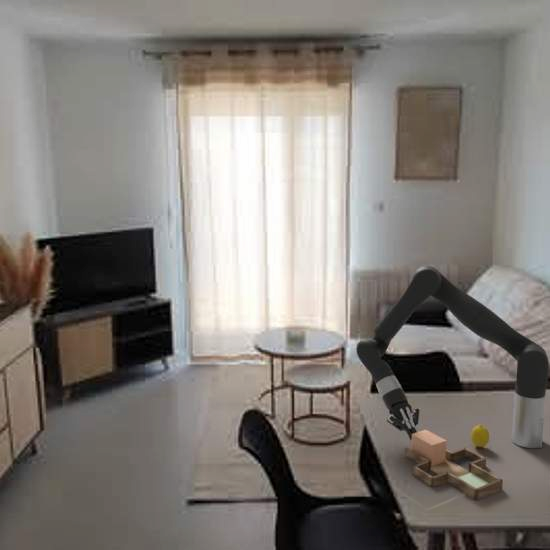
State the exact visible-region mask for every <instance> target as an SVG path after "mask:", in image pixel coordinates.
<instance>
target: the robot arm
mask: <svg viewBox="0 0 550 550" xmlns="http://www.w3.org/2000/svg"><path fill="white" fill-rule="evenodd" d="M430 297H432V298H433V299H435V300H437V301H438V302H440V303H441V304H442V305H443V306H444V307H445V308H446V309H447V310H448V311H449V312H450V313H451V314H452V315H453V317H455V318H456V319H457V320H458V321H459V322H460V323H461V324H462V325H463V326H464V327H466V328H467V329H468V330H469V331H471V332H473V334H475V335H476V336H478V337H480V338H481V339H484V340H485V341H488V342H490V343H493V344H494V345H497V346H499V347H500V348H502V349H503V350H505V352H507V353H508V354H509V355H511V357H512V358H514V360H516V362H517V363H516V364H517V365H516V377H515V378H516V379H515V385H514V400H513V401H514V402H513V403H514V404H513V414H512V415H513V417H512V430H511V441H512V442H513V443H514V444H515V445H517V446H519V447H523V448H528V449H536V448H537V449H538V448H540V449H542V447H543V438H544V436H543V435H544V424H545V423H544V422H545V417H544V416H545V407H546V406H545V404H546V395H547V393H546V392H547V389H548V381H549V379H548V378H549V369H550V368H549V367H550V362H549V358H548V354H547V351H546V350H545V349H544V347H542V346H541V345H539V344H538V343H537V342H534V341H532V340H531V339H529V338H527V337H526V336H524V335H523V334H521V333H520V332H518V331H517V330H516V329H514V328H513V327H511V325H509V324H508V323H507V322H506V321H505V320H504V319H502V318H501V316H499V315H497V314H496V313H495V312H494V311H492V310H491V309H490V308H488V307H487V306H486V305H484V304H483V303H482V302H480V301H478V300H477V299H475V298H474V297H473V296H471V295H469V294H468V293H466V292H465V291H463V290H461V289H460V288H458V287H457V286H455V285H454V284H453V282H451V281H450V280H449V279H448V278H446V277H445V276H444V274H442V273H441V272H440V271H439V269H437V268H435V267H433V266H430V265H423V266H420V267H418V268H417V269H416V270H415V272H414V274H413V276H412V279H411V281H410V283H409V285H408V287H407V288H406V290H405V291H404V293H403V295H402V296H401V297H400V298H399V300H398V301H396V303H395V304H394V305H393V306H392V307H391V308H390V309H389V310H388V311H387V312H386V314H385V315H384V316H383V317H382V318H381V319H380V321H379V322H378V323H377V324H376V326H375V328H374V330H373V331H374V336H373V338H371V339H362V340H361V339H360V341H359V342H358V343H357V344H356V349H355V350H356V355H357V358H358V359H359V361H360V362H361V363H362V365H363V366H364V367H365V368H366V370H367V371H368V372H369V373H370V376H371V377H372V379H373V382H374V383H375V386H376V388H377V391H378V393H379V395H380V397H381V399H382V401H383V403H384V406H385V407H386V409H387V410H388V411H389V417H388V418H387V419H386V422H387V423H389V424H390V425H391V426H393V427H395V428H396V429H397V430H398V431H400V432H402V431H405V432H406V434H407V435H408V438H409V440H410V441H411V440H412V434H413V433H417V432H418V431H417V429H416V426H417V425H419V418H420V409H419V408H413V407H412V405H411V404H410V403H409V402H408V397H407V395H406V393H405V391H404V389H403V387H402V385H401V384H400V382H399V380H398V379H397V377H396V375H395V373H394V372H393V370H392V369H391V366H390V365H389V363H388V362H386V361H384V360H383V359H382V357H383V356H384V355H385V354H386V352H387V350H388V347H389V346H390V344H391V341H392V340H393V339H394V338H395V337H396V335H397V334H398V333H399V331H400V330H401V329H402V328H403V327H404V326H405V323H407V321H408V319H409V318H410V317H411V316H412V315H413V313H414V312H415V311H416V310H417V309H418V308H419V307H420V305H422V304H423V303H424V302H425V301H426V300H427V299H428V298H430Z"/></svg>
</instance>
